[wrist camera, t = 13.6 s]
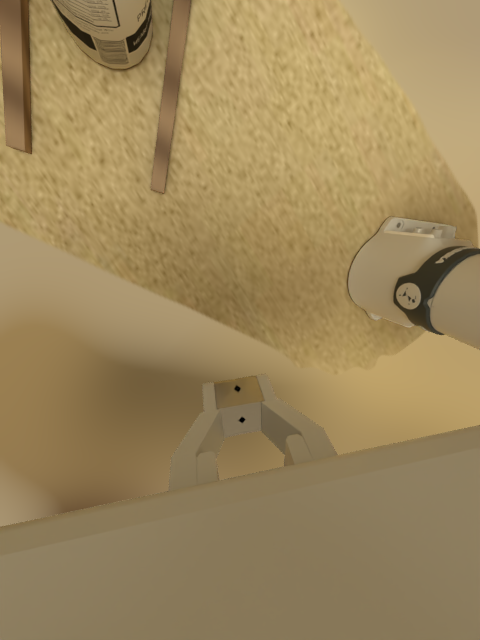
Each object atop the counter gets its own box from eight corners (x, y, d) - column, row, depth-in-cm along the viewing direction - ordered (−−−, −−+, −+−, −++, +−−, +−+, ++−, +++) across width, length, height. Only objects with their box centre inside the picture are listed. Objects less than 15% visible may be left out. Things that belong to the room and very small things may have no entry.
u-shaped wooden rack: (169, 195, 31) (171, 193, 27) (4, 145, 25) (-29, 132, 21) (205, -42, 24) (214, -98, 20) (-13, -187, 18) (-69, -312, 14)
